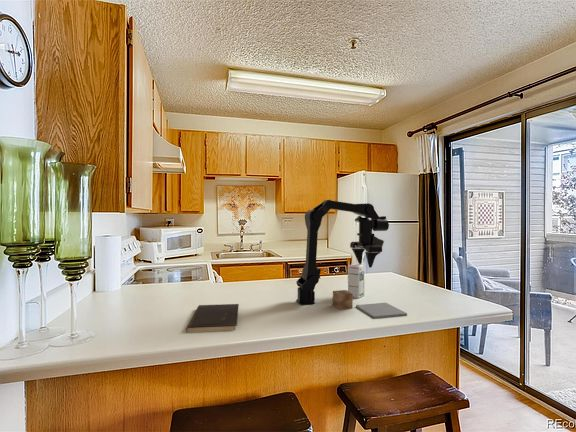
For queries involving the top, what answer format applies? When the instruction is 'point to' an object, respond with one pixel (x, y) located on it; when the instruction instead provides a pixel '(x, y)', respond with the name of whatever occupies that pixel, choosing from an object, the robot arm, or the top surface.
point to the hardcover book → (214, 318)
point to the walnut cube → (342, 299)
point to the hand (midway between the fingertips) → (365, 265)
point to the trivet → (381, 310)
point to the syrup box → (356, 280)
